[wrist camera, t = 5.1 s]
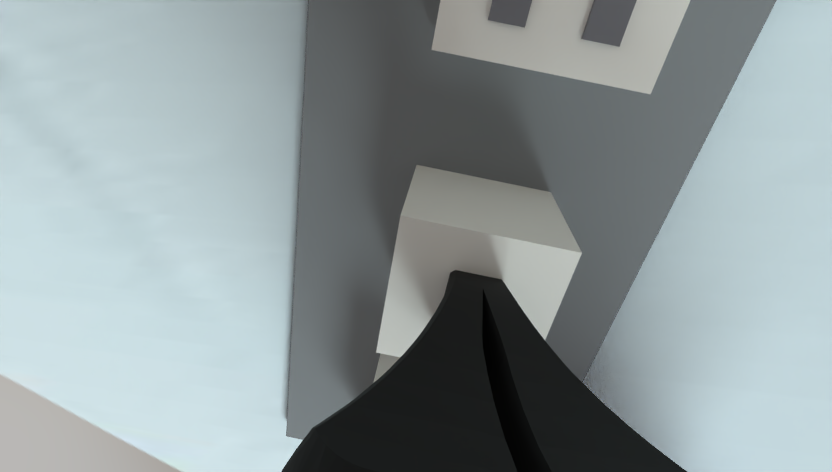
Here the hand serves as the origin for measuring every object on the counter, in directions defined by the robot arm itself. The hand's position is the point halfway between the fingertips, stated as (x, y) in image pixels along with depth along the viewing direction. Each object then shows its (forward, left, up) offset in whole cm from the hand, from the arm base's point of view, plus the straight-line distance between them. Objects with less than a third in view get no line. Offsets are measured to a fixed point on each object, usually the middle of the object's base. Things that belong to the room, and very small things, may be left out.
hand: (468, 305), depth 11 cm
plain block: (0, 0, -4) cm, 4 cm away
